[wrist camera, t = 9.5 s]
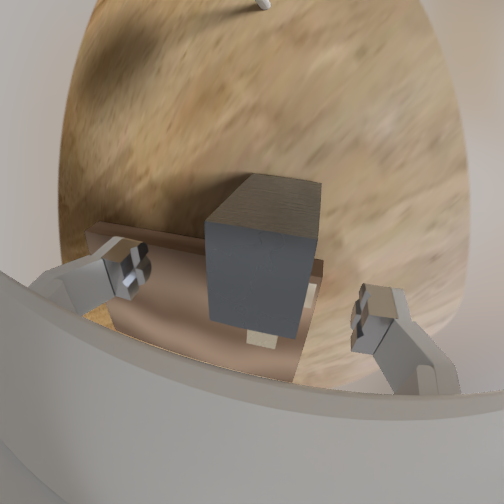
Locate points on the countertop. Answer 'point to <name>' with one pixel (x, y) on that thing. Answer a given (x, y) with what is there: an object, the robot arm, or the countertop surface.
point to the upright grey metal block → (262, 256)
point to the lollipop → (263, 4)
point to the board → (195, 307)
